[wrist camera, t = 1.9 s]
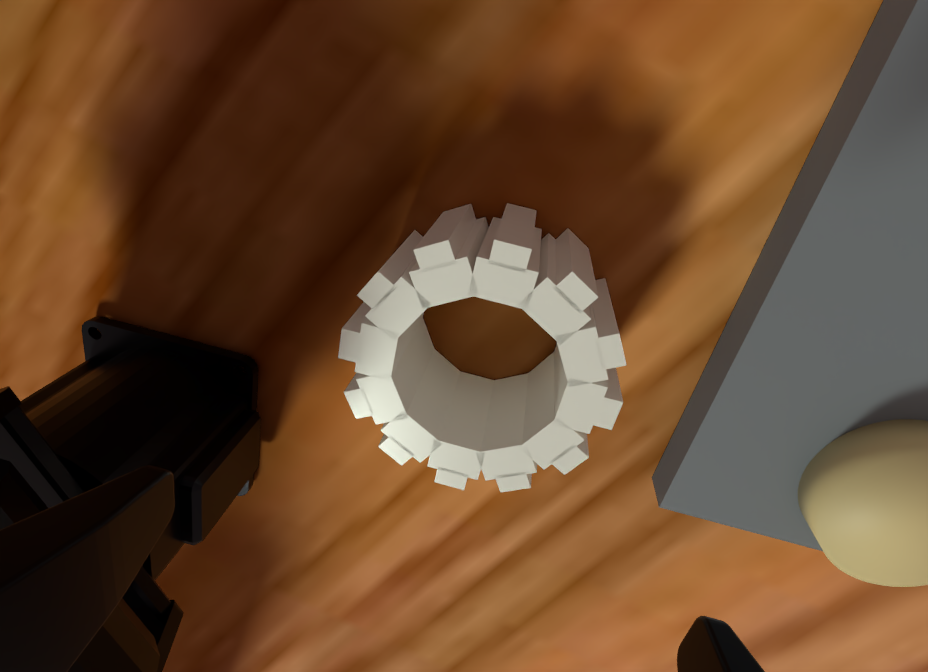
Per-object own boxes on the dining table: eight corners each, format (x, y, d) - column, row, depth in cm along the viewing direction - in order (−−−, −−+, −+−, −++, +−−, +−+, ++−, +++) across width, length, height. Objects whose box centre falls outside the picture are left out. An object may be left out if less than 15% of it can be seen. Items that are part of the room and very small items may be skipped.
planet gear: (367, 383, 20) (326, 452, 16) (399, 175, 16) (357, 204, 13) (570, 437, 19) (573, 519, 16) (646, 237, 16) (672, 284, 12)
